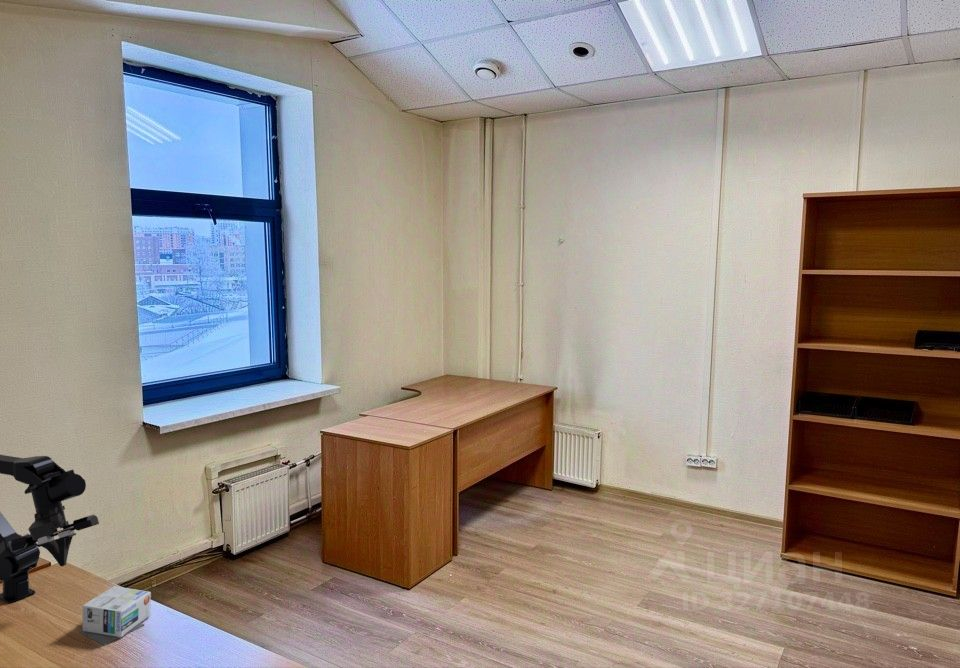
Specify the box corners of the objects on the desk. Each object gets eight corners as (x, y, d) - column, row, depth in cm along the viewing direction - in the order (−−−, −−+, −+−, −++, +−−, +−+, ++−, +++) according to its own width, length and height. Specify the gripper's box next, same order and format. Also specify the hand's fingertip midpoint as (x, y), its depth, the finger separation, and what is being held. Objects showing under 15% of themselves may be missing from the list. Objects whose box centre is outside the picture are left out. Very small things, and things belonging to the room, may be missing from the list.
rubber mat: (79, 632, 160) (79, 631, 160) (119, 613, 169) (119, 612, 169) (104, 645, 155) (104, 643, 155) (144, 625, 164) (144, 624, 164)
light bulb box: (81, 631, 160) (120, 639, 157) (81, 604, 159) (120, 611, 157) (114, 609, 170) (151, 616, 168) (114, 584, 169) (151, 590, 167)
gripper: (-8, 521, 160) (7, 585, 159) (75, 496, 165) (91, 558, 163) (14, 516, 171) (28, 576, 170) (92, 492, 175) (106, 551, 174)
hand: (63, 565), depth 169 cm, fingers closed
